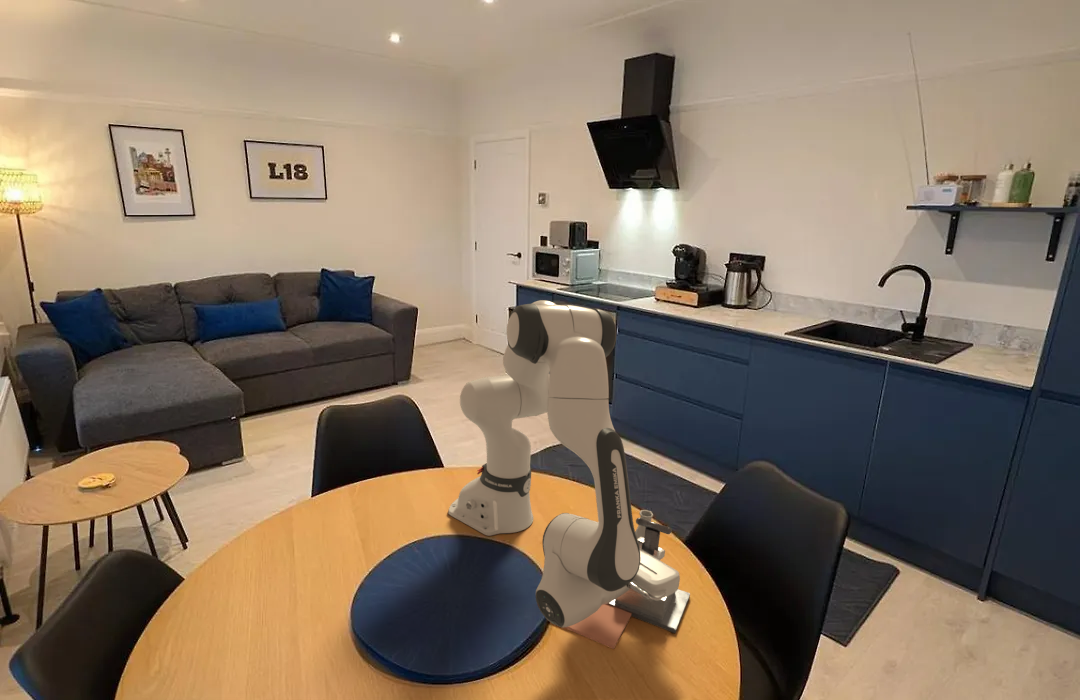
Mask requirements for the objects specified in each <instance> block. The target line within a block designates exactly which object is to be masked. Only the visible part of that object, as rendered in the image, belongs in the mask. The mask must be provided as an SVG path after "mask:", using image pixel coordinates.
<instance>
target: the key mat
mask: <svg viewBox="0 0 1080 700" xmlns="http://www.w3.org/2000/svg"><path fill="white" fill-rule="evenodd" d="M631 617H632V616H631V613H629V612H626V611H624V610H621V609H619V608H616V607H614V606H611V605H609V604H603V605H601V607H600V608H599V609H598V610H597V611H596V612H595V613H594V614H592V615H591V616H589V617H587V618H586V619H584V620H582V621H580V622H578V623H576V624H574V625H571V626H568V627H563V628H564V629H566V630H568V631H571V632H574V633H575V634H577V635H581V636H583V637H586V638H587V639H590V640H591V641H595V642H596V643H599V644H601V645H603V646H606V647H608V648H610V649H613V650H614V649H615V647H616V646H617V644H618V643H619V640H620V638H621V636H622V635H623V633H624V630H625V629H626V627H627V625H628V623H629V621H630V620H631Z"/></svg>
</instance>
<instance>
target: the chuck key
mask: <svg viewBox="0 0 1080 700" xmlns="http://www.w3.org/2000/svg"><path fill="white" fill-rule="evenodd" d="M635 523H636V524H637V526H638V525H641V526H644V527H646V528H645V536H644V544H643V550H644V551H645V552H647V553H649V554H650V555H652V556H653V555H654V549H656V548H658V547H659V546H660V545H659V544H660V538H661V533H663V534H665V535H670V534H671V533H672V532H673V531H672V528H671V527H670V526H666V525H663V524H660V523H658V522H653V521H652V520H651V521H648V520H645V519H642V518H640V517H637V518H635Z"/></svg>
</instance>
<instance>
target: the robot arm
mask: <svg viewBox="0 0 1080 700" xmlns="http://www.w3.org/2000/svg"><path fill="white" fill-rule="evenodd" d="M616 326H617V325H616V323H615V321H614V319H613V317H612V315H611V314H610V313H609V312H606V311H605V310H602V309H600V308H595V307H591V308H588V307H584V306H578V305H573V304H572V305H571V304H556V303H555V302H554V301H553V302H552V301H550V300H546V299H545V300H543V299H542V300H541V299H540V300H537V301H534V302H532V303H527V304H526V303H525V304H520V305H517V306H516V307H514V309H513V310H512V311H511V312H510V315H509V317H508V320H507V324H506V340H507V346H506V348H505V351H504V353H503V357H502V365H503V367H504V368H503V369H504V370H505V373H507V374H503V375H494V376H484V377H481V378H476V379H475V380H471V381H468V382H466V384H464V386H463V388H462V389H461V393H460V396H459V406H460V409H461V411H462V413H463V415H464V416H465V418H466V419H468V420H469V421H470V422H472V423H473V424H475V425H476V427H478V428H479V430H480V431H481V432H482V434H483V437H484V440H485V446H486V447H485V448H486V463H484V464H483V465H481V467H480V468H478V469H477V471H476V472H477V473H476V474H477V475H479V474H480V475H479V476H478V477H476V478H474V479H472V480H471V481H469V482H468V483H466V485H464V486H463V487H462V488H461V490H460V491H459V495H458V498H456V499H455V500H453V502H452V503H451V504H450V506H449V508H448V515H449V516H451V517H452V518H454V519H456V520H458V521H459V522H461V523H464V524H466V525H467V526H469V527H471V528H472V529H474V530H476V531H477V532H479V533H481V534H483V535H485V536H495V535H499V534H512V533H517V532H521V531H523V530H526V529H527V528H529V527H530V526H531V525H532V523H533V521H534V514H533V511H532V504H531V497H530V495H531V494H530V491H531V486H532V467H531V452H532V445H531V441H530V440H531V439H530V438H529V436H528V435H527V434H526V433H524V432H523V431H521V430H519V429H518V428H514V427H513V421H514V420H517V419H524V418H531V417H537V416H541V415H544V414H547V421H548V426H549V430H550V432H551V433H552V434H553V436H554V437H555V439H556V440H557V441H558V442H559V443H560V444H562V446H564V447H566V448H567V449H568V450H570V451H571V452H573V453H575V454H576V455H577V456H578V457H579V458H580V459H581V460H582V461H583V462H584V463H585V464H586V465H587V467H588V468H589V470H590V472H591V475H592V477H593V482H594V488H595V500H596V508H597V510H596V511H597V521H595V520H593V519H590V518H587V517H583V516H580V515H576V514H573V513H569V512H562V513H560V514H558V515H556V516H555V517H553V518H552V519H551V521H549V523H548V524H547V526H546V527H545V530H544V532H543V534H542V550H543V556H544V560H543V562H544V563H543V564H544V565H543V570H542V575H541V580H540V582H539V584H538V586H537V588H536V590H535V602H536V604H537V607H538V609H539V611H540V613H541V614H542V615H543V617H544V618H545V619H546V621H548V622H550V623H551V624H553V625H554V626H557V627H559V628H564V627H568V626H571V625H574V624H576V623H578V622H580V621H582V620H584V619H586V618H587V617H589V616H591V615H592V614H594V613H595V612H596V611H597V610H598V609H599V608H600V607H601V605H603V604H608V603H610V602H612V601H613V600H615V599H616V598H618V597H619V596H621V595H623V594H624V593H626V592H627V591H628V590H629V589H631V590H633V591H634V592H636V593H638V594H640V595H641V596H642V597H643V598H645V599H647V600H648V599H650V600H655V601H659V600H660V599H662V598H665V597H667V596H669V595H671V594H673V593H674V592H676V591H677V590H678V589H679V587H680V580H681V579H680V578H681V577H680V572H679V571H678V570H677V569H675V568H674V567H672V566H670V565H668V564H666V563H665V562H664V561H661V560H663V559H664V558H665V555H666V549H664V548H662V547H660V546H658V548H656V549H654V555H653V556H652V555H650V554H649V553H647V552H645V551H644V550H642V549H643V544H644V538H643V537H640V538H638V539H637V537H636V533H635V531H636V529H635V525H634V520H633V510H632V509H633V508H632V502H631V492H630V483H629V476H628V465H627V458H626V453H625V448H624V444H623V441H622V438H621V437H620V435H619V434H618V433H617V432H616V429H615V428H614V425H613V422H612V419H611V415H610V407H609V403H610V402H609V398H610V397H609V395H610V393H609V374H608V373H609V372H608V366H607V365H608V364H607V359H606V358H607V357H608V356H610V354H611V352H612V351H613V349H614V348H615V345H616V341H617V327H616Z"/></svg>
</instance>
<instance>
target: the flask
mask: <svg viewBox="0 0 1080 700" xmlns="http://www.w3.org/2000/svg"><path fill="white" fill-rule="evenodd" d="M653 517H654V514H653V511H651V510H648V509H641V510H640V511H639V518H642V519H645V520H648V521H651V522H652V518H653ZM645 528H646V527H644V526H641V525H638V524H637V528H636V529H635V533H636V537H637V539H638V538H640V537H643V538H644V536H645ZM642 550H643V549H642Z"/></svg>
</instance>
